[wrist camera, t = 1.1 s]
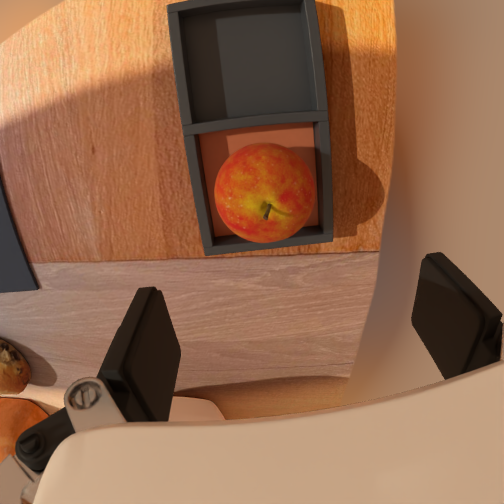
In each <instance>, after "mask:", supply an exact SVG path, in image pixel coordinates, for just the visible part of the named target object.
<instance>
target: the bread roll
mask: <svg viewBox="0 0 504 504" xmlns="http://www.w3.org/2000/svg"><path fill="white" fill-rule="evenodd" d="M30 378H31V372H30V367H29V365H28V363H27V362H26V360H25V359H24V358H23V356H22V355H21V354H20V352H18V351H17V350H16V349H15V348H14V347H13V346H12V345H10V344H9V343H7V342H5V341H4V340H1V339H0V395H1V394H14V395H17V394H19V393H20V392H22V391H23V390H24V389H25V387H26V386H27V384H28V382H29V381H30Z"/></svg>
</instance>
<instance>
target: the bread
mask: <svg viewBox="0 0 504 504" xmlns="http://www.w3.org/2000/svg"><path fill="white" fill-rule="evenodd" d="M47 417H49V416H48V415H47V414H46V413H45V412H44V411H43V410H42V409H41V408H40V407H39V406H37V405H36V404H34V403H32V402H30V401H28V400H21V399H11V398H0V463H1V462H2V461H3V460H4V459H5V458H6V457H7V456H8V455H9V454H11V455H12V456H14V455H15V454H16V453H15V444H16V441H17V439H18V437H19V436H20V435H21V433H22V432H24V431H25V430H26V429H28V428H30V427H32V426H33V425H35V424H37V423H39V422H40V421H42V420H44V419H46V418H47Z"/></svg>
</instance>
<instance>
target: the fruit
mask: <svg viewBox="0 0 504 504" xmlns="http://www.w3.org/2000/svg"><path fill="white" fill-rule="evenodd" d="M214 196H215V203H216V207H217V210H218V212H219V215H220V217H221V218H222V220H223V222H224V223H225V224H226V225H227V227H228V228H229V229H230V230H231V231H233V232H234V233H235V234H237V235H238V236H240V237H241V238H244V239H246V240H249V241H252V242H257V243H269V242H275V241H279V240H283V239H286V238H288V237H290V236H292V235H293V234H295V233H296V232H297V231H298V230H300V229H301V228H302V226H303V225H304V224H305V223H306V221H307V220H308V218H309V216H310V214H311V212H312V209H313V206H314V202H315V185H314V181H313V177H312V174H311V172H310V170H309V168H308V166H307V165H306V164H305V162H304V161H303V160H302V159H301V158H300V157H299V156H298V155H297V154H296V153H295V152H293V151H292V150H290V149H288V148H286V147H284V146H282V145H279V144H274V143H254V144H250V145H247V146H245V147H243V148H241V149H239V150H237V151H236V152H234V153H233V154H232V155H231V156H230V157H229V158H228V159H227V160H226V161H225V162H224V164H223V165H222V166H221V168H220V170H219V172H218V175H217V178H216V181H215V188H214Z"/></svg>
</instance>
